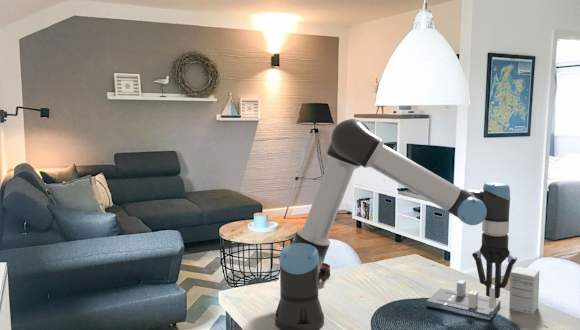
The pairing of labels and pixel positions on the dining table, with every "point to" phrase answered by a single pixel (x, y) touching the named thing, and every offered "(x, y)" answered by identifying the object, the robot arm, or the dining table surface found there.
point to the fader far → (461, 288)
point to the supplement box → (524, 290)
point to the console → (463, 302)
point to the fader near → (473, 299)
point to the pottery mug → (324, 272)
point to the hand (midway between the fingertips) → (492, 307)
